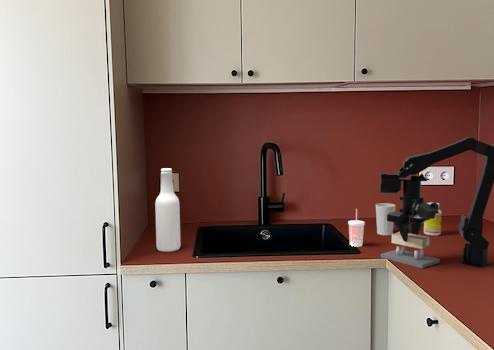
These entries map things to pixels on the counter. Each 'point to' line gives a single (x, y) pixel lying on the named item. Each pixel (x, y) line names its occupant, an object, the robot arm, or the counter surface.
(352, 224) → the beverage cup
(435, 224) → the supplement bottle
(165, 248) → the white bottle
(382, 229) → the cup
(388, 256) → the peg stand
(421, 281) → the counter surface
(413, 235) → the shelf board
